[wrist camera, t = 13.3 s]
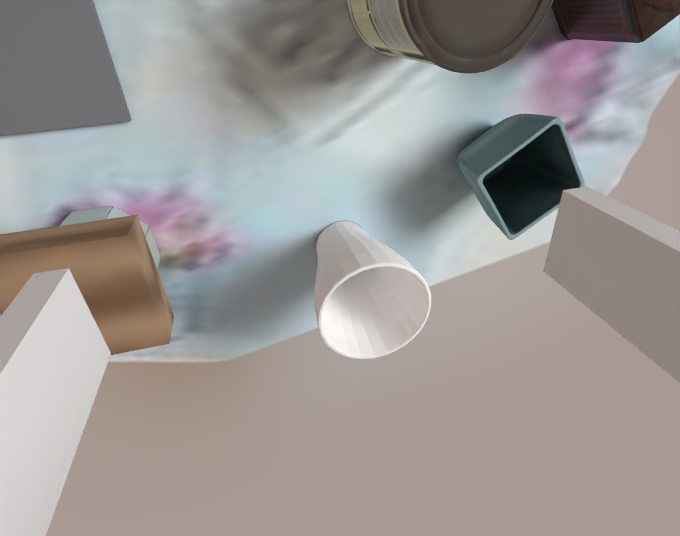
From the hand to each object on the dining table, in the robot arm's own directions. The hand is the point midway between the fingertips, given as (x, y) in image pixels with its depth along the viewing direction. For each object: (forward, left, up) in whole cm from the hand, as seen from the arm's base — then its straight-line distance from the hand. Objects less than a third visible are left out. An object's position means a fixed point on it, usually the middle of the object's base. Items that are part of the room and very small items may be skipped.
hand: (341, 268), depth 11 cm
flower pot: (+9, +23, -32) cm, 40 cm away
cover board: (+13, -18, -26) cm, 34 cm away
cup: (+17, +6, -32) cm, 36 cm away
